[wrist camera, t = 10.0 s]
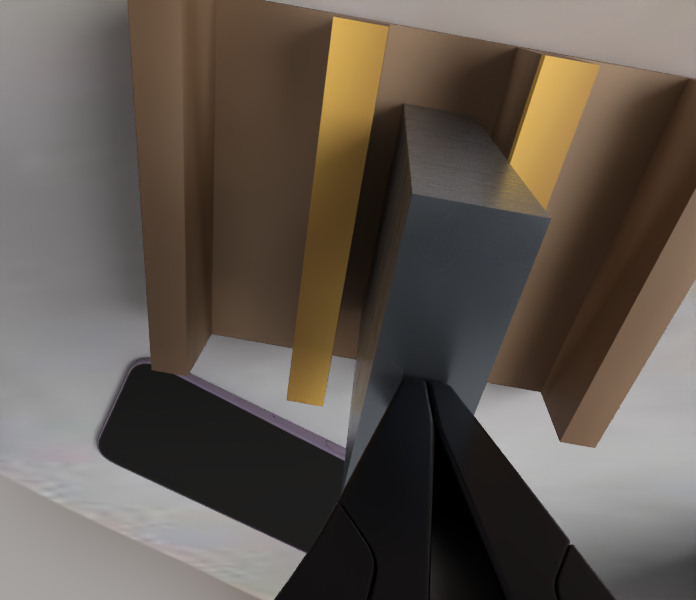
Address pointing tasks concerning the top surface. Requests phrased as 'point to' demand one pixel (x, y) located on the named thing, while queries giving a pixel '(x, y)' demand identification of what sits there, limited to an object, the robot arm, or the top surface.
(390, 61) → the rack
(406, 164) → the block
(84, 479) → the top surface
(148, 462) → the smartphone
